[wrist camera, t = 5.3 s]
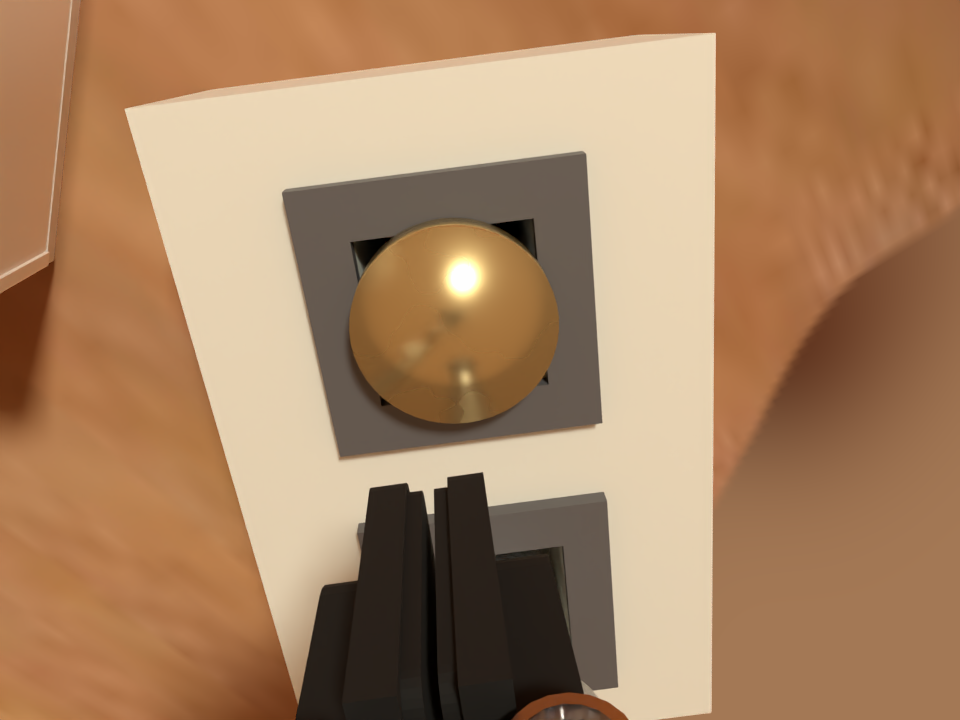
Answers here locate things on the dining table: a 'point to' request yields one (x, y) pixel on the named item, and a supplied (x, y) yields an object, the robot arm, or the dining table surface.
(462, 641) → the robot arm
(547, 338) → the brass-capped peg
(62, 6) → the butter dish
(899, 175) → the dining table surface
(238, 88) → the socket block
